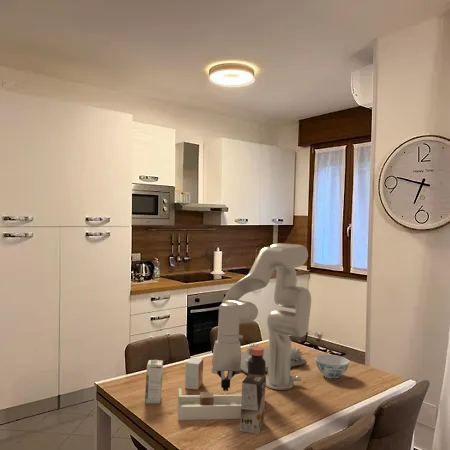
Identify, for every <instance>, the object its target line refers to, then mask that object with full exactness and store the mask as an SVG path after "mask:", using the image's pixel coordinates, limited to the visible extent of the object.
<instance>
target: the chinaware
mask: <svg viewBox="0 0 450 450" xmlns="http://www.w3.org/2000/svg"><path fill="white" fill-rule="evenodd" d="M314 359H315V360H314V361H315V363H316V367H317V369H318V370H319V371H320V373H321V374H323V377H324V376H325V378H326V377H328V378H327V379H329V378H338V379H339V378H340V376H342V375H344V374H345V373H346V372H347V369H348V368H349V364H350V361H349V359H347V358H346V357H344V356H341V355H336V354H319V355H316V356H315V358H314Z"/></svg>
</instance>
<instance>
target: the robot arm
mask: <svg viewBox="0 0 450 450" xmlns="http://www.w3.org/2000/svg"><path fill="white" fill-rule="evenodd" d="M308 257H309V252H308V249H307V247H305V245H302V244H295V243H293V244H292V243H279V242H278V243H273V244H271V245H270V246H266V247H262V248H261V249H260V250H259V252H258V254H257V256H256V258H255V261H253V264H252V266H251V268H250V270H249V272H248V274H247V275H246V276H244V277H242V278H241V279H240V280H237V282H235V283H234V284H233V285H232V286H231V287H230V288H229V289H228V291H227V292H226V294H225V296H224V298H223V300H222V302H221V304H220V305H219V307H218V321H217V322H218V324H217V325H218V326H217V340H215V341H214V345H213V349H212V360H211V365H212V367H211V371H210V372H211V373H212V374H215V375H218V377H219V378H220V379H221V380H220V381H221V382H220V384H221V385H220V387H221V389H222V390H223V392H226V391H227V392H228V391H229V389H230V388H231V380H232V378H233V377H234V376H235V375H240V374H242V371H241V353H242V348H241V347H242V346H241V341H240V340H243V338H244V337H243V335H242V334H240V323H243V324H247V323H248V324H249V323H252V322H254V321H255V320H256V319H257V318H258V315H259V314H258V313H259V310H258V307H257V305H256V304H254V303H253V302H250V301H244V300H240V299H241V298H242V297H243V296H245V295H246V294H248V293H251V292H255V291H259V290H260V289H264V288H265V287H267V286H268V284H269V282H270V280H271V278H272V276H273V273H275V271H276V277H275V278H276V279H275V288H274V296H273V300H274V301H273V302H274V304H275V305H276V306H278V307H282V308H285V309H292V310H295V312H292V311H289V310H284V309H274V310H272V311H270V312H269V313H268V315H267V318H266V320H267V321H266V324H267V329H268V348H269V352H268V372H267V377H266V388H269V389H272V390H275V391H276V390H279V391H285V390H286V391H287V390H290V389H292V388H294V382H301V381H302V376H301V375H299V376H298V375H296V374H291V367H290V366H291V349H292V341H291V339H290V336H293V337H296V338H303V337H304V336H305V335H306V334H307V332H308V330H309V324H310V316H311V307H312V294H311V292H310V290H309V289H308V288H307V287H304V286H296V285H297V272H296V268H298V267H301V266H303V265H305V263H306V262H307V261H308ZM225 372H227V375H225V374H226V373H225Z"/></svg>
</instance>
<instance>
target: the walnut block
mask: <svg viewBox="0 0 450 450" xmlns="http://www.w3.org/2000/svg"><path fill="white" fill-rule="evenodd" d="M213 393H214V392H212V391H211V392H210V391H209V392H201V391H200V392H199V395H200V405H213V404H214V396H213V395H214V394H213Z"/></svg>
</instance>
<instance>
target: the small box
mask: <svg viewBox="0 0 450 450" xmlns="http://www.w3.org/2000/svg"><path fill="white" fill-rule="evenodd" d="M184 374H185V375H184V377H185V378H184V379H185V381H184V388H185V389H190V390H196V391H197V390H199V388H201V386H202V384H203V375H204V358H203V357H202V358H201V357H190V358H189V359H188V360H187V361H186V362H185V373H184Z"/></svg>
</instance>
